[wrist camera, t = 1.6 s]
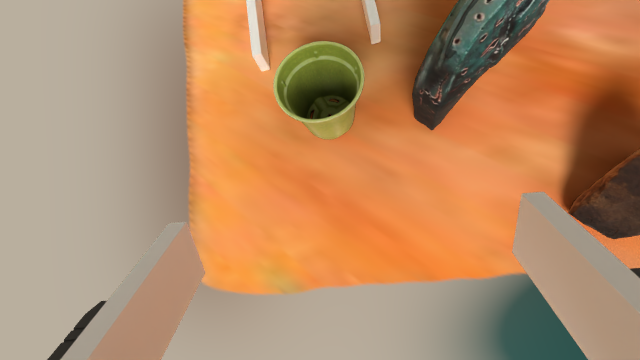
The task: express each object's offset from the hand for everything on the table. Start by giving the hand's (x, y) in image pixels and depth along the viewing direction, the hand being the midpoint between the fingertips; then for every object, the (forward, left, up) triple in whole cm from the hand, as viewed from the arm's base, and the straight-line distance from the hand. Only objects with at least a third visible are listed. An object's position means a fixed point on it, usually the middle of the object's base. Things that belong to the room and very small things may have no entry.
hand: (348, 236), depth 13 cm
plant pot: (+2, -18, -25) cm, 31 cm away
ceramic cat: (-16, -20, -25) cm, 36 cm away
